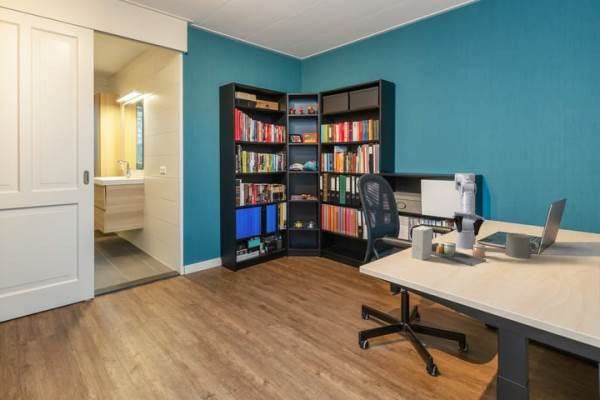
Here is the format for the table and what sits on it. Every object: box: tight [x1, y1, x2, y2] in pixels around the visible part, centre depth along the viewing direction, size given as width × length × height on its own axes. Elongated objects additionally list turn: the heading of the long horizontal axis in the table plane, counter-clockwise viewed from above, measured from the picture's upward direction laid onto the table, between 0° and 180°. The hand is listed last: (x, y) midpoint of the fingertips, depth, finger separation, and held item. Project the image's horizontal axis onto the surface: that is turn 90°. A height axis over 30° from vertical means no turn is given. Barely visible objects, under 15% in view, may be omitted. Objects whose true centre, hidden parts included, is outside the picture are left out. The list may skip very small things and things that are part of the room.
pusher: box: [436, 243, 444, 254], centre depth 160 cm, size 8×1×5 cm, turn 119°
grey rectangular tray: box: [431, 242, 487, 267], centre depth 156 cm, size 12×26×4 cm, turn 29°
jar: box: [472, 243, 487, 259], centre depth 156 cm, size 5×5×6 cm
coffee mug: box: [504, 232, 540, 260], centre depth 157 cm, size 13×10×10 cm
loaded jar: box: [443, 241, 457, 257], centre depth 157 cm, size 5×5×6 cm
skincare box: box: [410, 225, 433, 261], centre depth 154 cm, size 8×6×15 cm
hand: (468, 233), depth 154 cm, fingers open, 7 cm apart
